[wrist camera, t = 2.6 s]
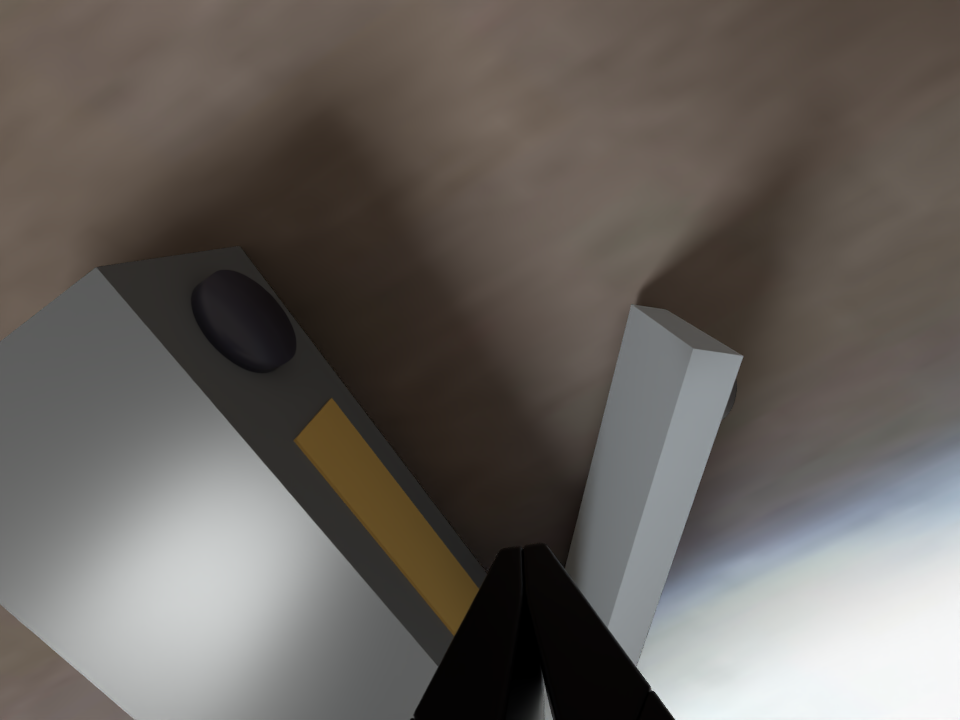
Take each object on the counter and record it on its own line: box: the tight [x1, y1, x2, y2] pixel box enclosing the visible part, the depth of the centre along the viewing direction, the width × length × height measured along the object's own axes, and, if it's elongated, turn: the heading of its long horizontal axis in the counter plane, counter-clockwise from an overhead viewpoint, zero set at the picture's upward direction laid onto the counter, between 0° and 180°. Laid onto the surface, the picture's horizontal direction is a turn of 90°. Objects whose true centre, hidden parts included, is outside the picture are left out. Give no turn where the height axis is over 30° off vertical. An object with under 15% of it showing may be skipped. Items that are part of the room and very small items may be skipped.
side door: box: [565, 304, 743, 666], centre depth 16 cm, size 15×2×5 cm, turn 172°
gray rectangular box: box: [0, 246, 487, 720], centre depth 16 cm, size 20×11×6 cm, turn 32°
